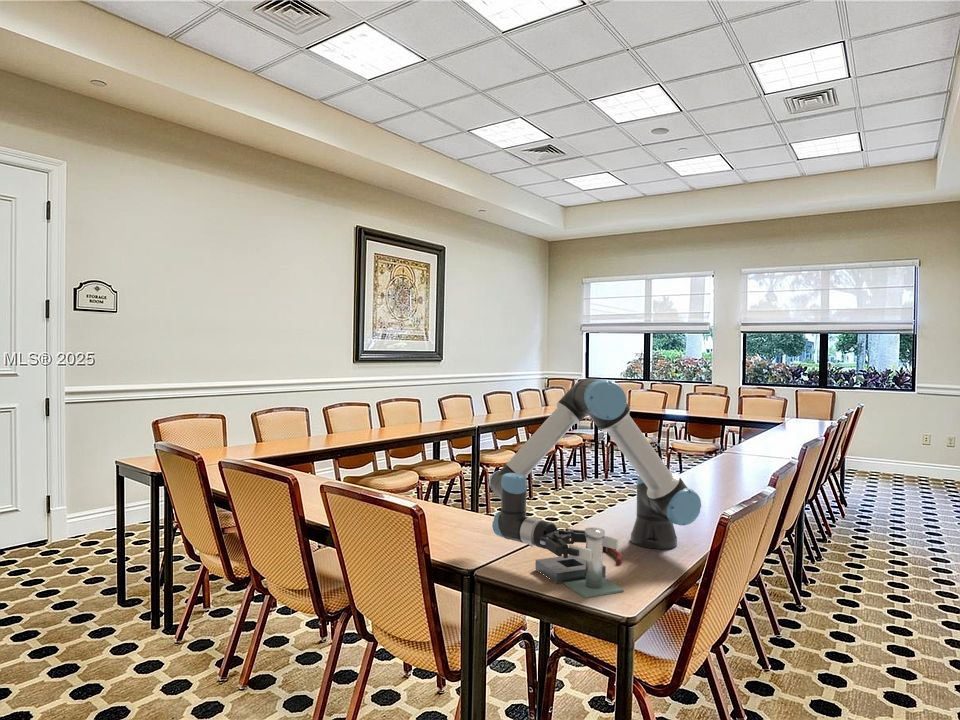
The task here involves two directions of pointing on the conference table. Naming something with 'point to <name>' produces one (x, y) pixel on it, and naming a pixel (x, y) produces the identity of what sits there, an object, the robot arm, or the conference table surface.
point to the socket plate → (564, 568)
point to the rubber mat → (588, 592)
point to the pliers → (614, 554)
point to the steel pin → (594, 557)
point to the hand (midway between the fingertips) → (604, 549)
